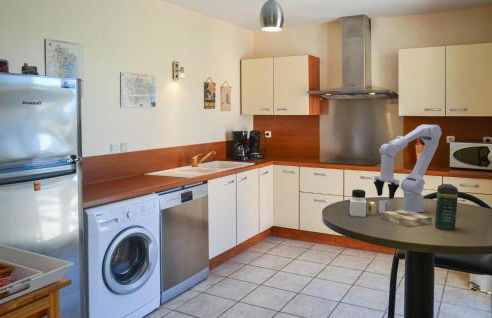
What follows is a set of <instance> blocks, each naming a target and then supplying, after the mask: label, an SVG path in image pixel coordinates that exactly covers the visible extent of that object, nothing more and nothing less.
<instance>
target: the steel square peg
mask: <svg viewBox="0 0 492 318" xmlns="http://www.w3.org/2000/svg"><path fill="white" fill-rule="evenodd" d="M378 201H379V202H378V213H379V214H381V212H387V211H392V201H391V200H387V199H382V200H378Z"/></svg>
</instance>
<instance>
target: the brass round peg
mask: <svg viewBox="0 0 492 318" xmlns="http://www.w3.org/2000/svg"><path fill="white" fill-rule="evenodd" d="M377 208H378V202H377V201H374V200H373V201H371V200H369V201H367V215H368V216H372V215H375V216H377V213H378V212H377V210H378V209H377Z"/></svg>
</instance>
